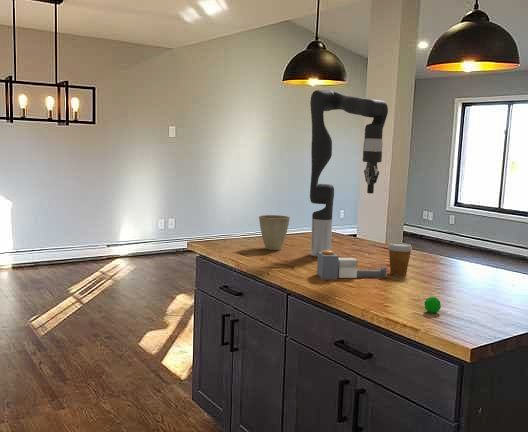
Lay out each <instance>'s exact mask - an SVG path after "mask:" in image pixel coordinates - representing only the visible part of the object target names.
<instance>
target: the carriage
mask: <svg viewBox="0 0 528 432" xmlns="http://www.w3.org/2000/svg"><path fill="white" fill-rule="evenodd" d="M357 270H358V260H357V259H356V258H355V257H338V278H340V279H342V278H344V279H347V278H348V279H357V278H358V277H357Z"/></svg>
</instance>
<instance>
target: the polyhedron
mask: <svg viewBox="0 0 528 432" xmlns="http://www.w3.org/2000/svg"><path fill="white" fill-rule="evenodd" d="M423 304H424V309H425V310H426V312H428V313H430V314H436V313H439V311H440V310H441V308H442V307H441V305H442V304H441V301H440V299H439V298H437V297H435V296H430V297H428V298H426V299H425V300H424V303H423Z"/></svg>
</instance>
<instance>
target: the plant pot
mask: <svg viewBox="0 0 528 432" xmlns="http://www.w3.org/2000/svg"><path fill="white" fill-rule="evenodd" d="M290 219H291V218H290V216H287V215H280V214H279V215H275V214H269V215H268V214H265V215H264V214H263V215H259V216H258V220H259V227H260V232H261V237H262V241H263V244H264V248H265V249H266V250H268V249H269V251H280V250H282V247H283V245H284V243H285V240H286V236H287V232H288V229H289V223H290Z"/></svg>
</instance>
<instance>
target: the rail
mask: <svg viewBox="0 0 528 432" xmlns="http://www.w3.org/2000/svg"><path fill="white" fill-rule="evenodd" d="M357 278H382V279H385V278H387V267H386V266H384V265H381V266H380V269H357Z"/></svg>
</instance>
